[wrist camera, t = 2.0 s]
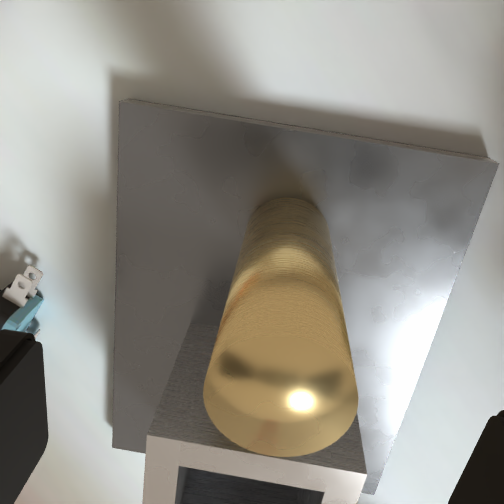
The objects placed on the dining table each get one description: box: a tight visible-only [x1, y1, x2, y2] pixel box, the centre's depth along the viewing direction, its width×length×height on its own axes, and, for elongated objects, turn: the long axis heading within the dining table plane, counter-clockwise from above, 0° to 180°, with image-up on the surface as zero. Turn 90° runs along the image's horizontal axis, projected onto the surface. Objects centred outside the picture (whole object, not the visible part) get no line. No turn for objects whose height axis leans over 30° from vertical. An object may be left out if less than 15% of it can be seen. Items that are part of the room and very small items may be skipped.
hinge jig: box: [112, 99, 499, 504], centre depth 19 cm, size 15×19×8 cm
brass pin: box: [203, 197, 358, 457], centre depth 15 cm, size 4×4×10 cm
